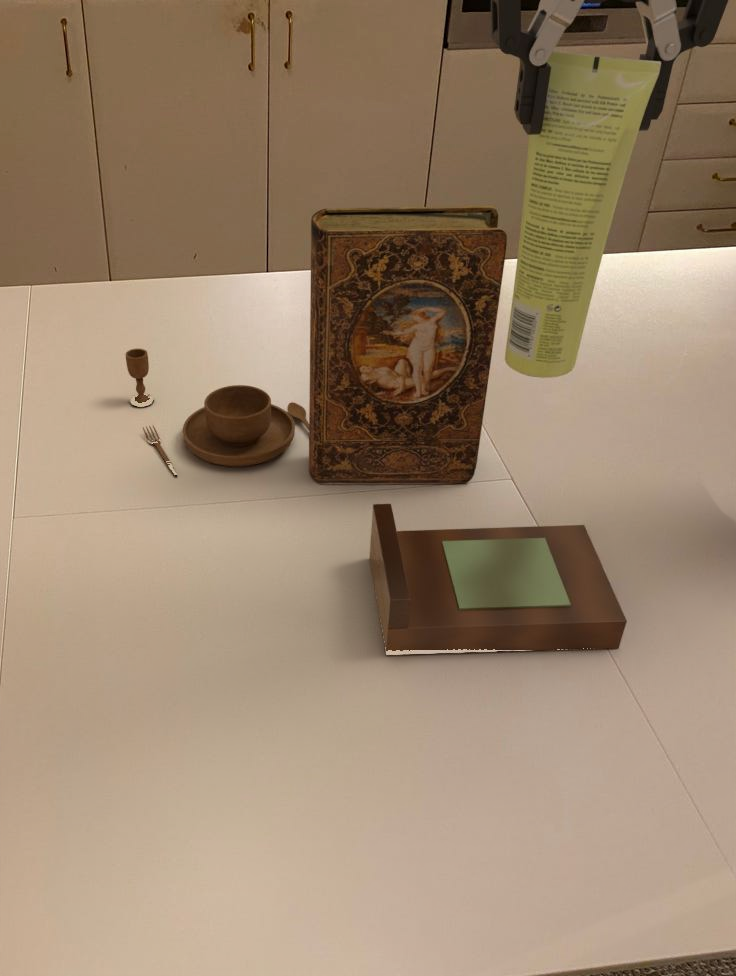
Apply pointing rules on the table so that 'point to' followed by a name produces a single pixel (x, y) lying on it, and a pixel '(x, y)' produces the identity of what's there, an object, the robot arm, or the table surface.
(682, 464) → the table surface
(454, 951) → the table surface
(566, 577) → the brown wooden stand
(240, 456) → the place setting
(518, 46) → the robot arm
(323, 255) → the book
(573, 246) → the tube
